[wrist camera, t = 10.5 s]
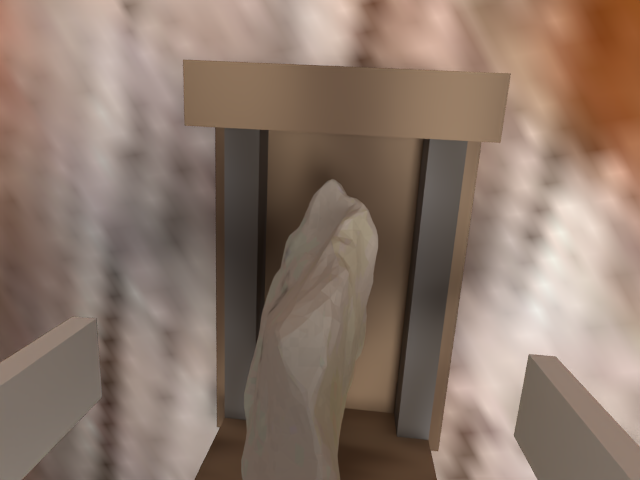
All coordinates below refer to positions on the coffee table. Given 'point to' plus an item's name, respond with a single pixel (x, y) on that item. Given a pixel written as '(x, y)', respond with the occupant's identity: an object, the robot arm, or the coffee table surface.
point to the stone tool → (310, 342)
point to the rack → (386, 213)
